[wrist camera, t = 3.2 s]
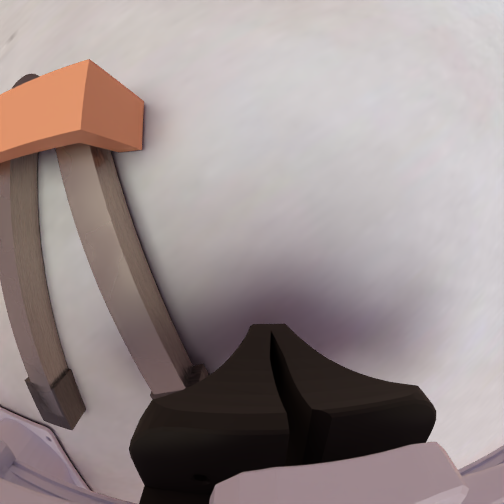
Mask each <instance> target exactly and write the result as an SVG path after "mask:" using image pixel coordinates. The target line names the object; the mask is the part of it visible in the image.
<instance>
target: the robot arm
mask: <svg viewBox="0 0 504 504" xmlns="http://www.w3.org/2000/svg"><path fill="white" fill-rule="evenodd" d="M435 421H436V410H435V408H434V406H433V404H432V403H431V402H430V400H429V399H428V398H427V397H426V395H425V394H424V393H423V391H422V390H421V389H420V388H419V387H418V386H416V385H408V384H400V383H393V382H388V381H384V380H380V379H376V378H372V377H369V376H366V375H362V374H360V373H357V372H355V371H352V370H349V369H347V368H345V367H343V366H341V365H339V364H337V363H335V362H333V361H331V360H329V359H328V358H326V357H324V356H323V355H321V354H320V353H319V352H317V351H316V350H314V349H313V348H312V347H310V346H309V345H308V344H306V343H305V342H304V341H303V340H302V339H301V338H299V337H298V336H297V335H296V334H295V333H294V332H293V331H292V330H291V329H290V328H289V327H288V326H287V325H286V324H253V325H252V326H250V329H249V331H248V333H247V335H246V337H245V339H244V340H243V341H242V343H241V344H240V346H239V347H238V349H237V350H236V351H235V352H234V353H233V355H232V356H231V357H230V358H229V359H228V360H227V361H226V362H225V363H224V364H223V365H222V366H221V367H220V368H218V369H217V370H216V371H215V372H213V373H212V374H210V375H209V376H207V377H206V378H204V379H203V380H201V381H199V382H198V383H196V384H194V385H192V386H190V387H187V388H185V389H183V390H181V391H178V392H175V393H172V394H169V395H166V396H163V397H160V398H156V399H153V400H152V401H151V403H150V404H149V406H148V408H147V409H146V410H145V412H144V414H143V415H142V417H141V419H140V421H139V423H138V425H137V428H136V430H135V432H134V435H133V437H132V439H131V442H130V447H129V451H130V455H131V458H132V460H133V462H134V465H135V467H136V469H137V471H138V473H139V475H140V477H141V479H142V481H143V483H144V485H145V486H144V490H143V493H142V496H141V499H140V503H139V504H504V445H503V446H501V447H500V448H498V449H496V450H495V451H493V452H491V453H490V454H488V455H486V456H484V457H483V458H481V459H479V460H477V461H475V462H473V463H471V464H469V465H467V466H465V467H463V468H461V469H459V470H458V469H457V468H456V466H455V465H454V463H453V462H452V460H451V459H450V457H449V455H448V454H447V452H446V451H445V449H444V448H443V447H442V446H440V445H439V444H438V443H437V442H427V443H426V441H427V439H428V437H429V435H430V433H431V431H432V429H433V427H434V424H435ZM0 504H135V503H131V502H127V501H123V500H119V499H116V498H112V497H109V496H105V495H102V494H99V493H96V492H93V491H90V489H89V488H88V486H87V485H86V484H85V482H84V481H83V480H82V478H81V477H80V475H79V474H78V472H77V471H76V470H75V468H74V467H73V465H72V463H71V462H70V460H69V459H68V457H67V456H66V454H65V452H64V451H63V449H62V448H61V446H60V444H59V442H58V441H57V439H56V437H55V435H54V434H53V432H52V431H51V430H50V429H49V428H47V427H45V426H42V425H40V424H37V423H35V422H32V421H30V420H27V419H25V418H23V417H21V416H18V415H16V414H14V413H12V412H10V411H8V410H6V409H3V408H1V407H0Z"/></svg>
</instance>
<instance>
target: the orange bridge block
mask: <svg viewBox="0 0 504 504" xmlns="http://www.w3.org/2000/svg"><path fill="white" fill-rule="evenodd" d="M143 110H144V101H143V100H142V99H140V98H139V97H138V96H136V95H135V94H134V93H133V92H131V91H130V90H129V89H128V88H126V87H125V86H124V85H122V84H121V83H120V82H119V81H117V80H116V79H115V78H113V77H112V76H111V75H110V74H108V73H107V72H106V71H104V70H103V69H102V68H100V67H99V66H98V65H96V64H95V63H94V62H92V61H91V60H90V59H89V60H85V61H82V62H79V63H76V64H73V65H70V66H67V67H64V68H61V69H58V70H55V71H53V72H50V73H48V74H45V75H42V76H40V77H38V78H35V79H33V80H30V81H28V82H26V83H24V84H21V85H19V86H17V87H15V88H13V89H11V90H9V91H7V92H5V93H3V94H1V95H0V163H1V162H5V161H8V160H11V159H15V158H18V157H21V156H25V155H29V154H33V153H36V152H40V151H44V150H48V149H53V148H57V147H62V146H66V145H71V144H76V143H83V144H87V145H91V146H95V147H99V148H104V149H108V150H112V151H115V152H126V151H135V150H142V129H143Z"/></svg>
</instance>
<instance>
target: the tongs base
mask: <svg viewBox="0 0 504 504" xmlns="http://www.w3.org/2000/svg"><path fill="white" fill-rule="evenodd" d="M38 77H40V76H38V75H36V74H28V75H25V76H24V77H22V78H21V79H20V80H18V81H17V82H16V84H15V85H14V86H13V87H12V89H13V88H15V87H17V86H19V85H21V84H24V83H26V82H28V81H30V80H33V79H35V78H38ZM37 161H38V152H36V153H33V154H29V155H25V156H21V157H18V158H15V159H11V160H8V161H5V162H1V163H0V281H1V286H2V291H3V295H4V300H5V304H6V308H7V312H8V316H9V320H10V323H11V327H12V330H13V334H14V337H15V340H16V343H17V346H18V349H19V352H20V355H21V358H22V361H23V363H24V366H25V369H26V371H27V374H28V376H29V377H28V378H27V379H26V380H25V382H26V384H27V386H28V389H29V391H30V393H31V395H32V397H33V400H34V402H35V404H36V406H37V408H38V410H39V412H40V414H41V416H42V418H43V420H44V421H46V422H49V423H51V424H54V425H57V426H60V427H63V428H66V429H69V430H73V429H74V427H75V425H76V424H77V422H78V421H79V419H80V418H81V416H82V415H83V413H84V412H85V410H86V409H85V406H84V404H83V401H82V399H81V396H80V394H79V391H78V388H77V386H76V383H75V380H74V377H73V374H72V371H71V369H68V367H67V364H66V361H65V358H64V354H63V351H62V348H61V344H60V341H59V337H58V333H57V330H56V326H55V322H54V317H53V313H52V309H51V304H50V299H49V294H48V289H47V284H46V278H45V272H44V265H43V258H42V250H41V241H40V231H39V218H38V197H37Z"/></svg>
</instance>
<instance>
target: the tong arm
mask: <svg viewBox="0 0 504 504" xmlns="http://www.w3.org/2000/svg"><path fill="white" fill-rule="evenodd" d="M56 153H57V158H58V162H59V167H60V171H61V175H62V179H63V183H64V187H65V191H66V194H67V198H68V201H69V205H70V208H71V212H72V215H73V218H74V221H75V224H76V228H77V231H78V234H79V237H80V239H81V242H82V245H83V248H84V251H85V254H86V256H87V259H88V262H89V264H90V267H91V269H92V272H93V274H94V277H95V279H96V282H97V284H98V287H99V289H100V291H101V294H102V296H103V298H104V300H105V303H106V305H107V307H108V309H109V312H110V314H111V316H112V318H113V320H114V322H115V324H116V326H117V328H118V330H119V332H120V334H121V336H122V338H123V340H124V342H125V344H126V346H127V348H128V350H129V352H130V354H131V356H132V357H133V359H134V361H135V363H136V365H137V366H138V368H139V370H140V372H141V373H142V375H143V377H144V379H145V380H146V382H147V384H148V385H149V387H150V389H151V390H152V392H151V394H150V396H151V397H152V399H156V398H160V397H163V396H166V395H169V394H172V393H175V392H178V391H181V390H183V389H185V388H187V387H190V386H192V385H194V384H196V383H198V382H199V381H201V380H203V379H204V378H206V377H207V376H209V374H208V372H207V370H206V368H205V366H204V364H200V365H195V366H193V365H192V363H191V361H190V359H189V357H188V355H187V353H186V351H185V349H184V347H183V344H182V342H181V340H180V338H179V336H178V334H177V332H176V330H175V327H174V325H173V323H172V321H171V319H170V316H169V314H168V312H167V310H166V307H165V305H164V303H163V300H162V298H161V296H160V293H159V291H158V288H157V286H156V284H155V281H154V279H153V276H152V274H151V271H150V269H149V266H148V263H147V261H146V258H145V256H144V253H143V250H142V248H141V245H140V242H139V239H138V237H137V234H136V231H135V228H134V225H133V223H132V220H131V217H130V214H129V211H128V208H127V205H126V202H125V198H124V195H123V192H122V189H121V186H120V182H119V179H118V176H117V172H116V169H115V165H114V162H113V158H112V154H111V151H110V150H108V149H104V148H99V147H95V146H91V145H87V144H83V143H76V144H71V145H66V146H62V147H57V148H56Z"/></svg>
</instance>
